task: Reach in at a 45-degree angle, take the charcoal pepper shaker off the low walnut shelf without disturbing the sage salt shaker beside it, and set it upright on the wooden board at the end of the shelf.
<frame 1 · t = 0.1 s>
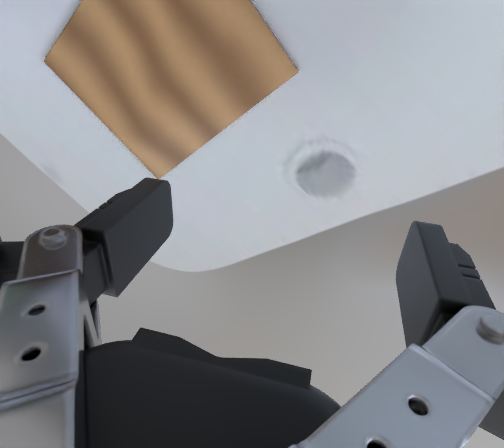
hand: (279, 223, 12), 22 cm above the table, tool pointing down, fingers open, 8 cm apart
wooden board: (161, 65, 33), on the table
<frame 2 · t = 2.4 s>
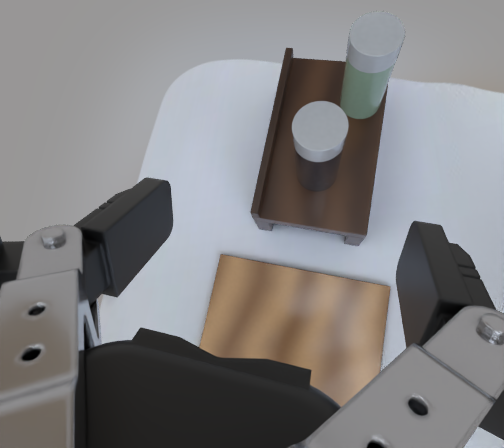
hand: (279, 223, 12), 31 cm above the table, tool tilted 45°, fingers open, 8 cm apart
walnut shelf: (320, 161, 44), on the table
salt shaker: (360, 101, 39), point 6 cm above the table, touching walnut shelf
wooden board: (289, 339, 40), on the table
pepper shaker: (316, 172, 38), point 6 cm above the table, touching walnut shelf
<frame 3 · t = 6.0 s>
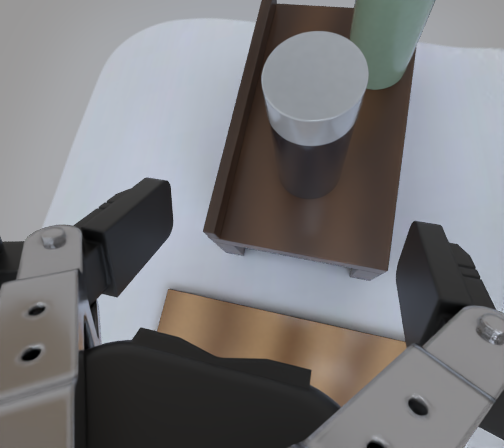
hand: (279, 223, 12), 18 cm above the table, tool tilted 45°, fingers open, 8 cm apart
walnut shelf: (315, 155, 31), on the table
salt shaker: (375, 64, 26), point 6 cm above the table, touching walnut shelf
wooden board: (265, 423, 26), on the table
pepper shaker: (309, 169, 24), point 6 cm above the table, touching walnut shelf
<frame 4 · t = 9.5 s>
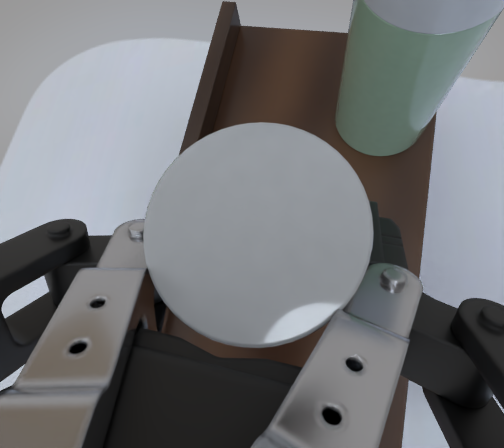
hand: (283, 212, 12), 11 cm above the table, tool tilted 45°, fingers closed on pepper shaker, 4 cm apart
walnut shelf: (298, 228, 23), on the table
salt shaker: (379, 117, 18), point 6 cm above the table, touching walnut shelf
pepper shaker: (281, 279, 16), point 6 cm above the table, touching gripper, walnut shelf
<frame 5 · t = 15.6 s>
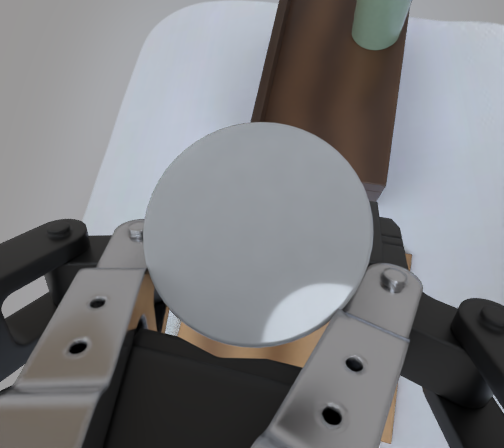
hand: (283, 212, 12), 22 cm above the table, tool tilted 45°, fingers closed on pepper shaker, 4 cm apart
walnut shelf: (326, 111, 37), on the table
salt shaker: (375, 30, 32), point 6 cm above the table, touching walnut shelf
wooden board: (288, 318, 33), on the table
pepper shaker: (281, 279, 16), point 18 cm above the table, touching gripper
when the fingers open (5 cm above the table, at t = 22.0 s): pepper shaker stays where it is, resting on wooden board.
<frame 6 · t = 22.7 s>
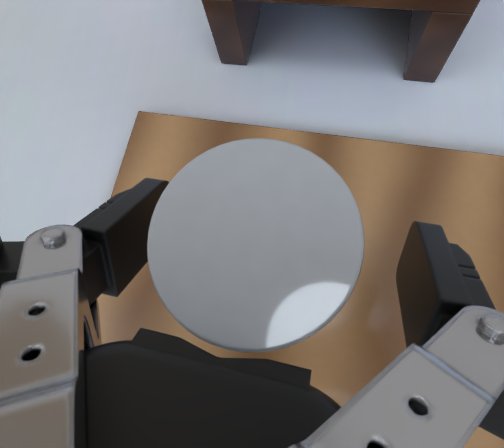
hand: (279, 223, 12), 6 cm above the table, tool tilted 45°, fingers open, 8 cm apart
wooden board: (281, 281, 17), on the table
pepper shaker: (279, 283, 17), resting on wooden board
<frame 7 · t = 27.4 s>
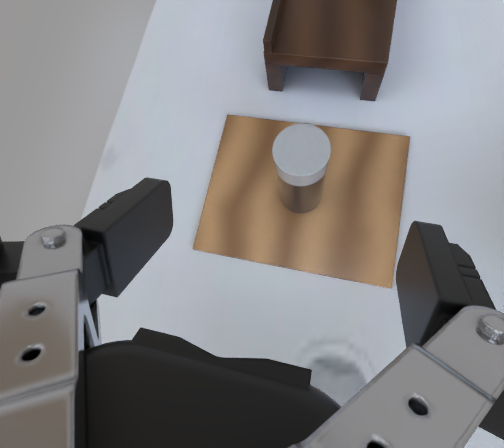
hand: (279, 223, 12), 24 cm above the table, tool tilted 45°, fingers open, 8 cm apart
walnut shelf: (334, 23, 42), on the table
wooden board: (301, 193, 37), on the table
pepper shaker: (301, 193, 36), resting on wooden board
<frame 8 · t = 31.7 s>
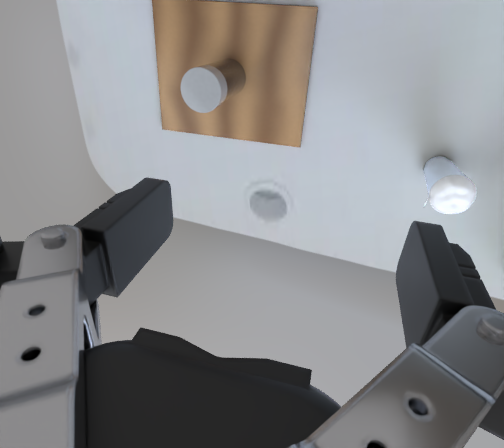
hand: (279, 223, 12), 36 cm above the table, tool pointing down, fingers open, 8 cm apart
wooden board: (230, 76, 45), on the table
pepper shaker: (229, 77, 45), resting on wooden board
milkshake: (433, 167, 44), on the table
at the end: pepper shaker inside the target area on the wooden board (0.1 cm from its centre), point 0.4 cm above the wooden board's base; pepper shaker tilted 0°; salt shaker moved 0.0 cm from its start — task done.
